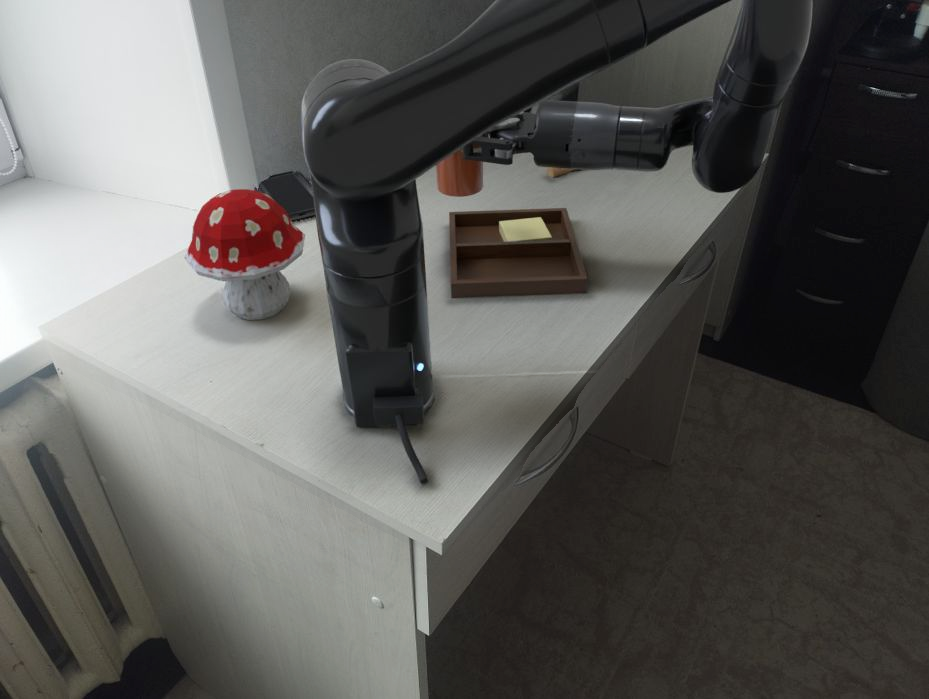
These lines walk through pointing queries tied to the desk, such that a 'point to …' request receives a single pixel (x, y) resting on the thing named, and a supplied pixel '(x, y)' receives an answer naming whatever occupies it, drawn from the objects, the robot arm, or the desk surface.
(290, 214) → the phone
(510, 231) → the note pad
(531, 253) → the divider
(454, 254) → the tray
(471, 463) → the desk surface
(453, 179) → the pencil cup
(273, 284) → the decorative mushroom
